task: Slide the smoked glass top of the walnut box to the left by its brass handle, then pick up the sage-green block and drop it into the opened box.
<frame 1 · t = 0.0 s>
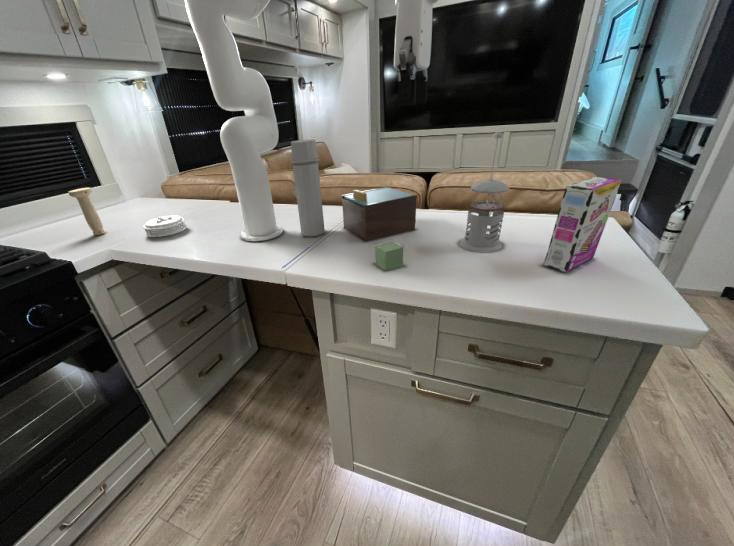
hand: (412, 104, 67), 31 cm above the worktop, tool pointing down, fingers open, 9 cm apart
walnut box: (378, 228, 97), on the worktop
lid: (167, 233, 110), on the worktop
candy bar box: (568, 263, 70), on the worktop
french press: (482, 244, 82), on the worktop
block: (388, 265, 75), on the worktop
water bottle: (314, 233, 99), on the worktop
glass door: (378, 192, 92), point 10 cm above the worktop, slide at 0.0 cm
handle: (100, 234, 115), on the worktop
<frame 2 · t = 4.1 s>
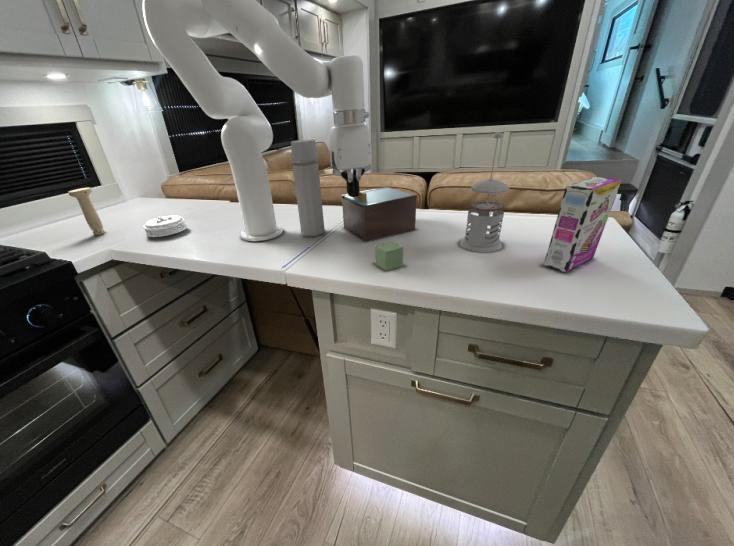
hand: (353, 195, 89), 11 cm above the worktop, tool pointing down, fingers closed
glass door: (378, 192, 92), point 10 cm above the worktop, slide at 0.0 cm, touching gripper
everything else where it was.
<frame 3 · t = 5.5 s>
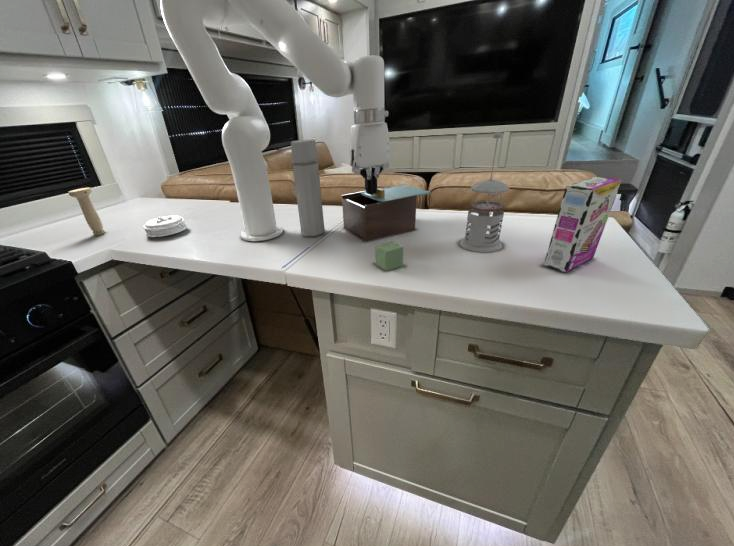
hand: (371, 193, 91), 11 cm above the worktop, tool pointing down, fingers closed
glass door: (395, 189, 94), point 10 cm above the worktop, slide at 5.6 cm, touching gripper
everything else where it was.
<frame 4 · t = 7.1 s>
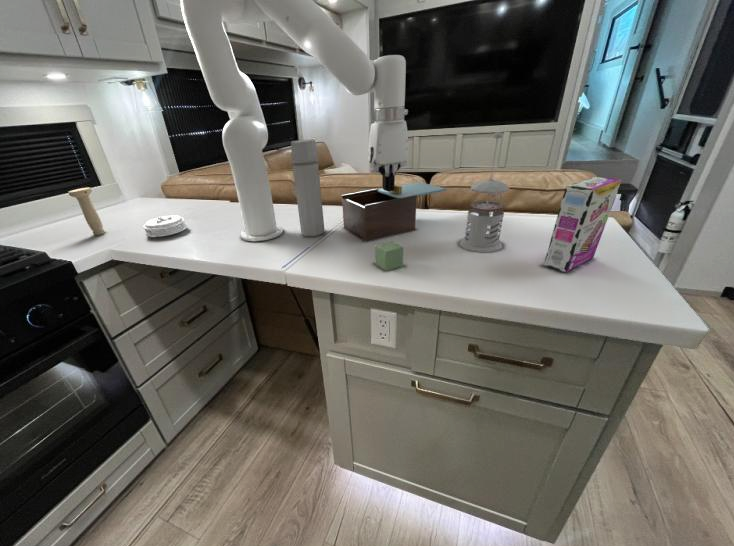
hand: (388, 190, 93), 11 cm above the worktop, tool pointing down, fingers closed
glass door: (411, 186, 95), point 10 cm above the worktop, slide at 11.1 cm, touching gripper
everything else where it was.
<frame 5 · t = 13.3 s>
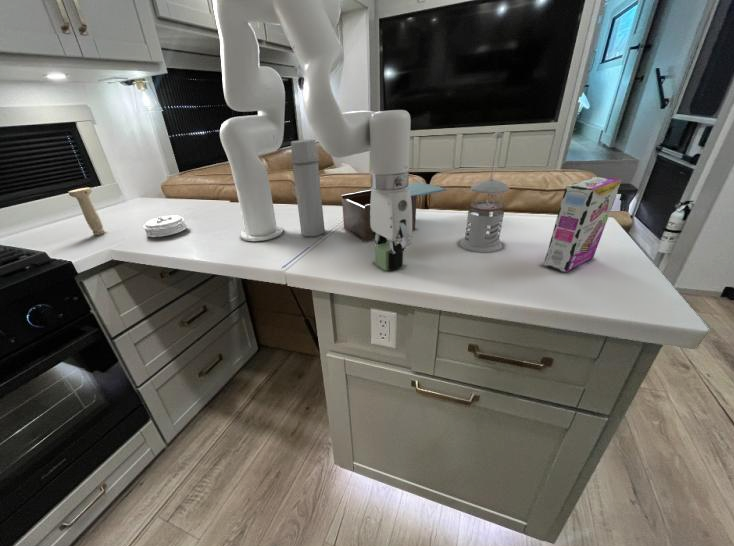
hand: (388, 263, 75), 0 cm above the worktop, tool pointing down, fingers closed on block, 4 cm apart
block: (388, 265, 75), on the worktop, touching gripper
glass door: (410, 186, 95), point 10 cm above the worktop, slide at 11.0 cm
everything else where it was.
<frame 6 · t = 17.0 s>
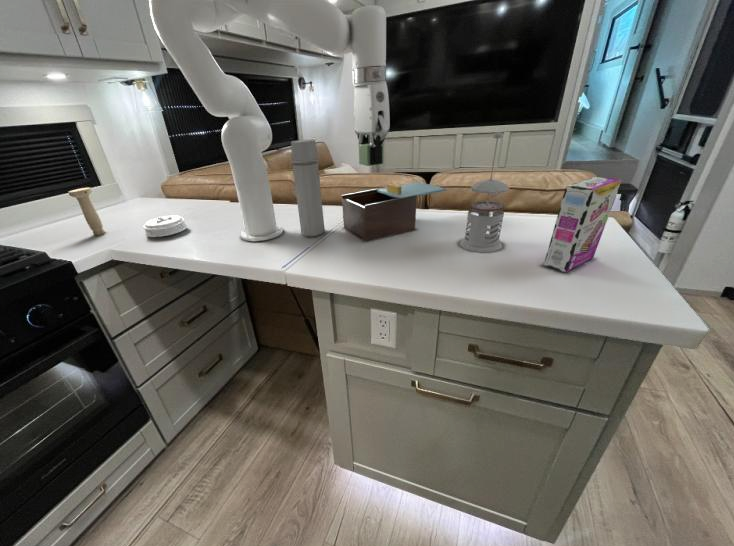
hand: (370, 162, 85), 19 cm above the worktop, tool pointing down, fingers closed on block, 4 cm apart
block: (371, 163, 85), point 19 cm above the worktop, touching gripper
everything else where it was.
when the fingers open (5 cm above the worktop, at t = 20.8 s): block drops 4 cm, resting on walnut box.
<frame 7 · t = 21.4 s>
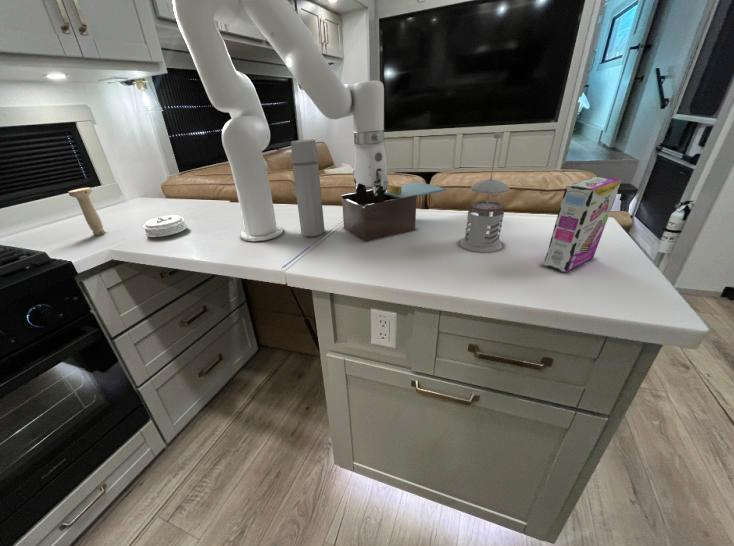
hand: (369, 206, 93), 7 cm above the worktop, tool pointing down, fingers open, 9 cm apart
block: (370, 227, 96), point 1 cm above the worktop, touching walnut box
everything else where it was.
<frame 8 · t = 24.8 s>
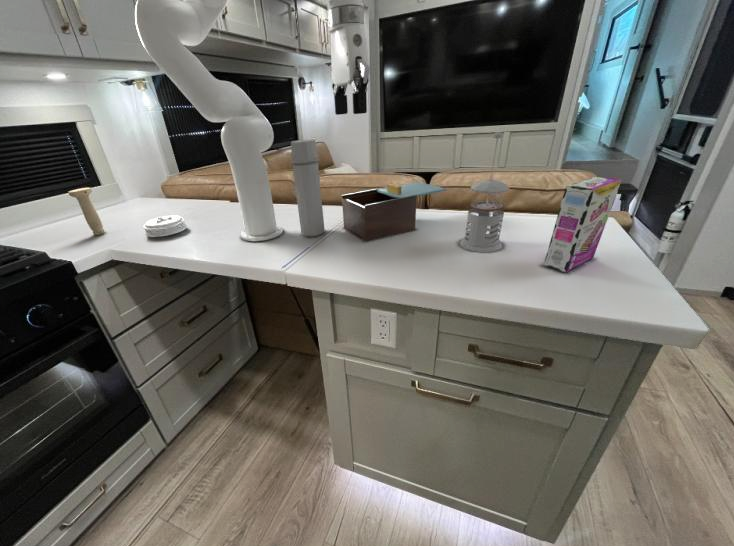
hand: (350, 113, 78), 30 cm above the worktop, tool pointing down, fingers open, 9 cm apart
nothing on the worktop moved.
at the end: glass door slide at 11.0 cm; block inside the target area on the walnut box (2.5 cm from its centre), point 0.8 cm above the walnut box's base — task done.
